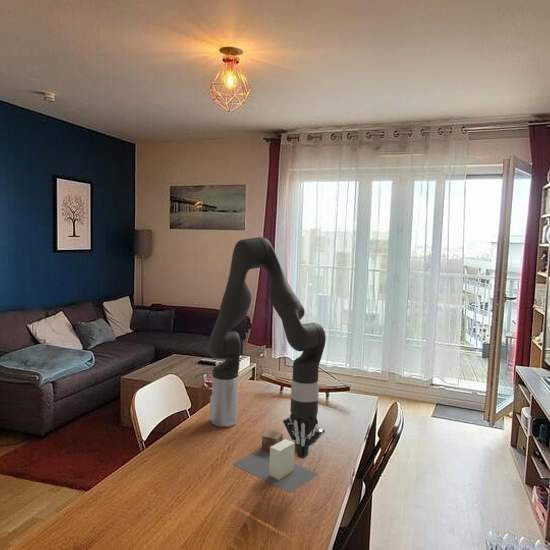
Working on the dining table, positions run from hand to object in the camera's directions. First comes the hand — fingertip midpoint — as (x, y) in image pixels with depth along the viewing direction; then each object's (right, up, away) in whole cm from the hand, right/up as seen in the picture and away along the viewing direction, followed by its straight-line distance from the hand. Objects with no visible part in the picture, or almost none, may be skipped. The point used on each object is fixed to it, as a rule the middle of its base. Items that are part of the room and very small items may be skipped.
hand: (302, 456), depth 126 cm
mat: (-8, -7, +8) cm, 13 cm away
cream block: (-6, -7, +5) cm, 10 cm away
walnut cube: (-9, -6, +21) cm, 23 cm away
